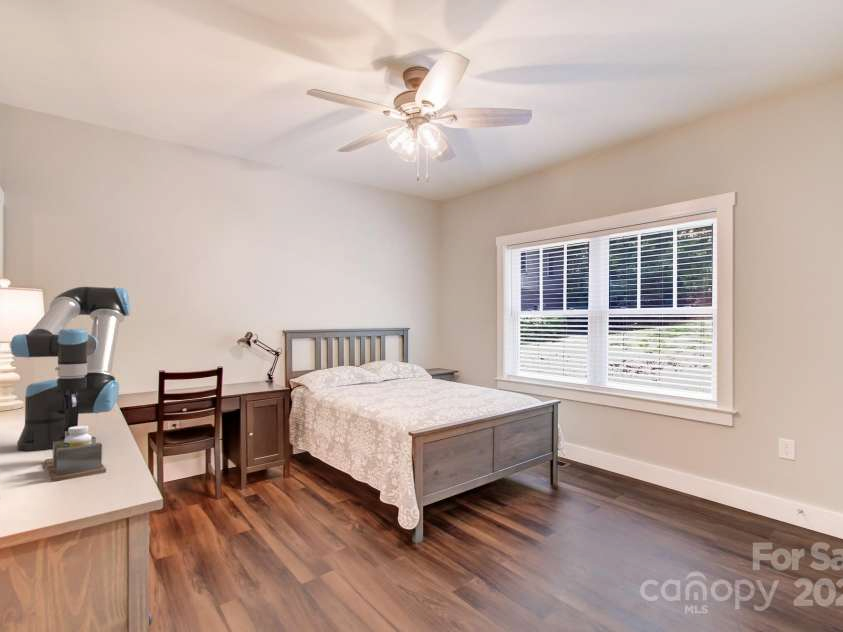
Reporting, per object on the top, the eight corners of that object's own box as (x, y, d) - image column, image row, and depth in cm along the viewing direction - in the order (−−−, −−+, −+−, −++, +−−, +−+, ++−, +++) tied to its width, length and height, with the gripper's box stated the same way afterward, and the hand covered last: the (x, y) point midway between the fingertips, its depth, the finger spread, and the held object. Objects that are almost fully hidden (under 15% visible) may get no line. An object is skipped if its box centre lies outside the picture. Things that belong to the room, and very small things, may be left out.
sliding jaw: (51, 462, 135) (51, 439, 135) (91, 456, 142) (92, 434, 142) (53, 468, 129) (54, 444, 130) (95, 461, 136) (96, 438, 137)
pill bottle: (57, 468, 129) (59, 428, 129) (82, 462, 135) (83, 424, 135) (71, 471, 126) (73, 430, 127) (95, 465, 132) (96, 426, 133)
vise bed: (44, 462, 138) (45, 436, 138) (92, 455, 146) (93, 430, 147) (52, 481, 121) (53, 452, 121) (106, 472, 129) (106, 444, 129)
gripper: (55, 375, 145) (53, 448, 145) (59, 379, 136) (57, 457, 135) (83, 374, 150) (81, 444, 150) (90, 377, 141) (88, 452, 140)
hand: (70, 450), depth 142 cm, fingers closed
